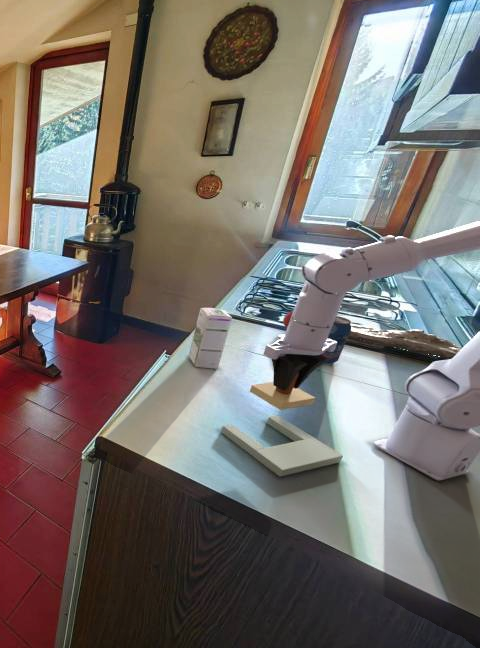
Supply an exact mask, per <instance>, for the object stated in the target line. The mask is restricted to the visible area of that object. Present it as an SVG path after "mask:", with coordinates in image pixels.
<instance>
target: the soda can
mask: <svg viewBox="0 0 480 648" xmlns="http://www.w3.org/2000/svg"><path fill="white" fill-rule="evenodd" d="M351 324H352V321H351V320H350V319H348V318H345V317H343V316H340V315H337V316H336V318H335V321H334V323H333V326H332V328H331V330H330V333H329V335H328V339H330V340H333V341H335V342H337V345H336V347H335V349H334V351H332V352H329V351H325V352H324V353H322V354H320V355H322V356H324V357H326V358H327V360H326V362H325V363H324V364H323V365H325V366H326V365H327V366H329V365H330V366H331V365H333V364H334V363H337V362H338V361H339V360H340V357H341V354H342V353H343V350H344V348H345V346H346V343H347V341H348V336H349V334H350V332H351V329H352V328H351Z"/></svg>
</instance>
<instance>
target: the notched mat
mask: <svg viewBox="0 0 480 648" xmlns="http://www.w3.org/2000/svg"><path fill="white" fill-rule="evenodd" d="M266 424H267V425H269V426H270V427H271V428H273V429H275V430H276V431H277V432H279V433H281V434H283V436H286V437H287V438H289V440H292V441H291V442H287V443H282V444H277V445H273V446H269V447H265V446H264V445H262V444H261V443H259V442H258V441H257V440H255V439H254V438H253V437H251V436H250V435H249V434H247V433H246V432H244V431H243V430H241V429H240V428H238V427H237V426H236V425H234V424H233V423H230V424H226V425H222V426H221V429H220V433H222V434H223V435H224V436H225V437H227V438H228V439H229V440H231V441H232V442H233V443H235V444H236V445H237V446H239V447H240V448H241V449H242V450H244V451H245V452H247V453H248V454H249V455H250V456H252V457H253V458H254V459H256V460H257V461H258V462H259V463H261V464H262V465H263V466H265V467H266V468H268V469H269V470H270V471H271V472H273V474H276V475H277V476H278V477H280V478H281V477H285V476H289V475H293V474H296V473H297V474H298V473H301V472H305V471H309V470H313V469H318V468H321V467H322V468H323V467H327V466H329V465H335V464H338V463H341V461H342V459H343V457H344V455H343V454H341V453H340V452H338V451H336V450H335V449H333V448H332V447H330V446H328V445H326V444H325V443H323V442H322V441H320V440H318V439H317V438H315V437H314V436H312V435H310V434H308V433H307V432H305V431H304V430H303V429H301V428H299V427H297V426H296V425H294V424H293V423H291V422H290V421H288V420H286V419H285V418H283V417H282V416H279V415H272V416H268V418H267V420H266Z"/></svg>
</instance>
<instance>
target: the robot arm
mask: <svg viewBox="0 0 480 648" xmlns="http://www.w3.org/2000/svg"><path fill="white" fill-rule="evenodd" d="M477 250H480V221H475V222H472V223H469V224H465V225H461V226H458V227H456V228H452V229H449V230H444V231H442V232H439V233H435V234H432V235H431V234H430V235H428V236H425V237H421V238H418V239H414V240H413V239H410V238H408V237H405V236H396V237H395V236H394V235H386V236H382V237H379V241H377V242H374V243H370V244H366V245H363V246H357V247H355V248H352V247H345V248H342V249H341V252H340V253H336V252H322V253H319V254H317V255H314V256H313V257H312V258H310V259H309V260H308V261H307V263H306V264H304V265H302V266H301V275H302V276H303V279H304V283H303V285H302V288H301V290H300V293H299V295H298V298H297V300H296V303H295V305H294V308H293V310H292V311H293V314H292V316H291V319H290V322H289V325H288V327H287V328H286V330H285V333H284V334H278V335H277V340H276V341H275V342H273V343H271V344H266V346H265V348H264V351H263V356H266V357H267V358H269V359H271V363H272V368H273V369H272V371H273V377H272V378H273V379H272V382H273V385H274V386H276V387H277V388H279V389H281V390H283V391H284V390H287V389H288V387H289V386H290V384H291V382H292V381H293V379H294V377H295V375H296V374H297V373H298V372H299V375H298V377H297V380H296V382H295V385H294V387H293V388H295V389H297V388H298V389H299V388H300V387H301V386H302V385H303V383H304V382H305V381H306V379H307V378H309V376H310V375H311V374H312V373H313V372H314V371H315V370H317V369H318V368H320V367H321V366H323V365H325V364H324V363H325V362H326V360H327V358H326V357H324V356H322V355H320V354H322V353H324V352H325V351H329V352H332V351H334V349H335V347H336V345H337V342H335V341H333V340H330V339H328V335H329V333H330V330H331V328H332V326H333V323H334V321H335V318H336V316H338V313H339V311H340V309H341V306H342V305H343V302H344V299H345V297H346V295H347V293H349V292H351V291H353V290H355V289H356V288H357V287H358V286H359V285H360V284H362V283H365V282H369V281H373V280H378V279H382V278H386V277H392V276H395V275H400V274H404V273H405V274H406V273H408V272H412V271H414V270H416V269H417V268H418V267H419V266H420V264H421V263H422V262H423V261H427V260H433V259H437V258H443V257H447V256H452V255H457V254H463V253H468V252H473V251H477ZM461 348H462V349H461V350H460V351H459V352H458V353H457V354H456V355H455V356H454V357H453V358H452V359H442V360H435V361H432V362H431V363H430V364H429V365H428V366H427V367H426V368H424V369H422V370H420V371H417V372H415V373H414V374H412V375H411V376H409V377H408V378H407V379H406V381H405V383H404V390H405V392H406V394H407V395H408V397H407V399H406V402H407V403H406V405H405V406H404V409H403V410H402V412H401V414H400V415H399V417H398V419H397V421H396V423H395V425H394V426H393V429H392V430H391V432H390V433H389V435H388V438H383V439H381V440H376V441H372V446H374V447H376V448H378V449H380V450H381V451H383V452H385V453H387V454H389V455H391V456H392V457H393V458H396V459H397V460H399V461H401V462H402V463H405V464H406V465H407V466H410V467H412V468H413V469H415V470H417V471H419V472H420V473H422V474H424V475H426V476H428V477H430V478H431V479H433V480H435V481H438V482H439V481H440V482H441V481H443V480H444V481H445V480H447V479H450V478H451V479H452V478H454V477H459V476H461V475H465V474H468V473H469V468H470V467H471V466H472V465H473V462H474V461H475V459H476V458H477V456H478V455H479V454H480V433H478V432H477V431H475V430H473V428H477V427H480V330H479V331H478V332H477V333H476V334H475V335H474V336H473V337H472V338H471V339H470V340H469V341H468V342H467V343H466V344H465V345H463V347H461Z"/></svg>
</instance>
